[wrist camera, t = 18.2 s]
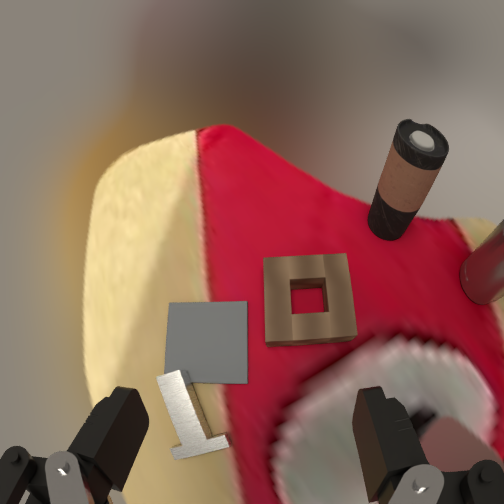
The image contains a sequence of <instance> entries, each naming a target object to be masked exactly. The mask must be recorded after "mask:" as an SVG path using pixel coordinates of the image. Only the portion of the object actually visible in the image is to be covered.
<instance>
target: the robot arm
mask: <svg viewBox="0 0 504 504" xmlns="http://www.w3.org/2000/svg"><path fill="white" fill-rule="evenodd" d="M460 281H461V285H462V288H463V290H464V292H465V293H466V295H467V296H468V297H469V298H470V299H471V300H472V301H473V302H475V303H477V304H480V305H483V304H487V303H489V302H491V301H492V300H493V301H496V300H498V299H499V298H501V297H502V296H504V220H503V221H502V222H501V223H500V224H499V225H498V226H497V227H496V228H495V230H494V231H493V232H492V233H491V234H490V235H489V236H488V237H487V238H486V239H485V240H484V241H483V243H482V244H481V245H480V246H479V247H478V248H477V249H476V250H475V251H474V252H473V253H472V254H471V255H470V256H469V257H468V258H467V259H466V260H465V261H464V262H463V264H462V265H461V269H460ZM352 425H353V433H354V437H355V441H356V445H357V449H358V454H359V458H360V463H361V467H362V472H363V476H364V481H365V486H366V491H367V496H368V501H369V503H370V502H375V501H379V504H504V473H503V470H502V468H501V467H500V465H499V464H497V463H496V462H495V461H492V460H483V461H479V462H477V463H476V464H475V465H474V466H473V467H472V468H471V469H470V470H468V471H458V472H442V471H440V470H439V469H438V468H436V467H434V466H432V465H430V464H429V463H428V461H427V459H426V457H425V454H424V452H423V449H422V447H421V444H420V442H419V439H418V437H417V435H416V432H415V430H414V428H413V425H412V423H411V421H410V419H409V416H408V414H407V411H406V409H405V407H404V406H403V405H402V404H401V403H400V402H399V401H398V400H397V399H396V398H395V397H394V398H389V399H386V397H385V395H384V392H383V390H382V388H381V387H380V386H377V387H370V388H364V389H359V391H358V395H357V400H356V404H355V409H354V413H353V420H352ZM148 427H149V416H148V413H147V411H146V409H145V406H144V404H143V402H142V399H141V397H140V395H139V392H138V391H137V390H136V389H133V388H126V387H120V386H118V387H116V388H115V389H114V391H113V392H112V394H111V395H110V397H105V398H104V399H102V400H101V401H100V402H99V403H97V404H96V405H95V407H94V409H93V410H92V412H91V413H90V416H88V418H87V420H86V423H84V424H83V426H82V428H81V429H80V431H79V432H78V434H77V435H76V437H75V439H74V440H73V442H72V444H71V445H70V447H69V449H68V450H67V451H59V452H56V453H54V454H52V455H51V456H50V457H49V458H42V457H33V456H31V455H30V454H29V453H28V452H27V451H26V449H25V448H23V447H21V446H13V447H10V448H9V449H7V450H6V451H5V453H4V454H3V456H2V457H1V459H0V504H19V502H20V500H21V498H22V496H23V494H24V492H25V490H27V491H28V492H30V495H29V497H28V499H27V501H26V503H25V504H113V502H112V500H111V498H110V496H109V492H110V490H111V489H114V490H117V491H120V492H122V490H123V487H124V485H125V483H126V480H127V478H128V475H129V473H130V470H131V468H132V466H133V463H134V461H135V458H136V456H137V454H138V451H139V449H140V447H141V444H142V442H143V440H144V437H145V435H146V432H147V430H148Z"/></svg>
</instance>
